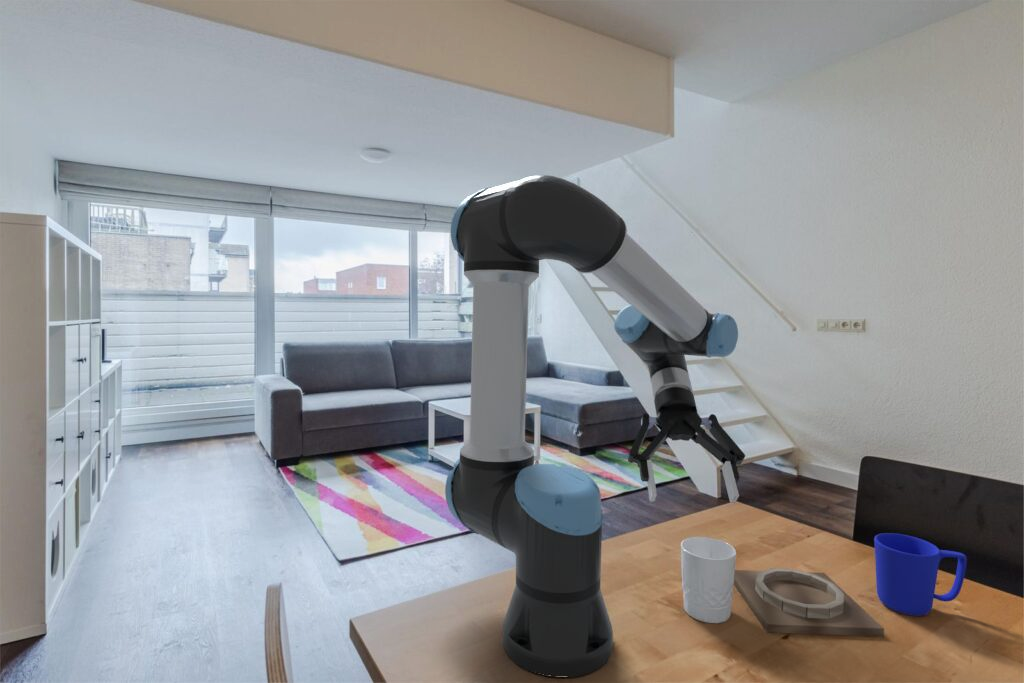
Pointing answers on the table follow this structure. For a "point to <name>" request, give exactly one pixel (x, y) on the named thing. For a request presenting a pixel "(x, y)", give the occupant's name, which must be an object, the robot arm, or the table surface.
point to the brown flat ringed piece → (803, 603)
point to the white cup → (707, 578)
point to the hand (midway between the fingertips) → (693, 499)
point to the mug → (912, 573)
